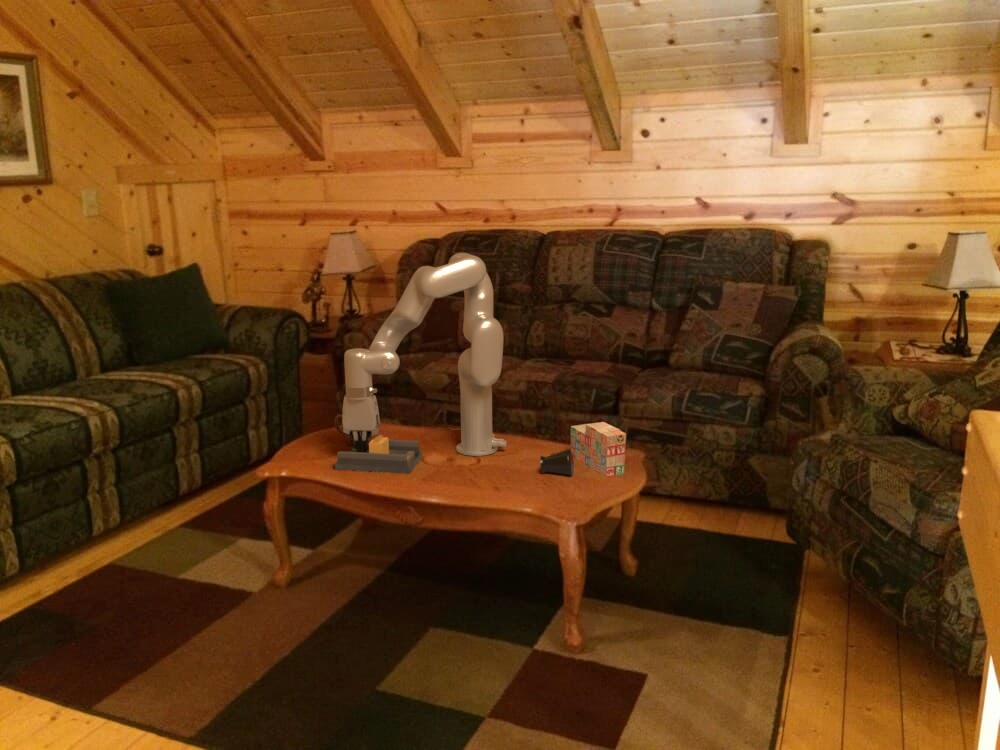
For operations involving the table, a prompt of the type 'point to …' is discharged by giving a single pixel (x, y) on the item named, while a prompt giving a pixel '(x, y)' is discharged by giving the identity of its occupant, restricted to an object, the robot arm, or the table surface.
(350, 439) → the mug
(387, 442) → the cheese wedge
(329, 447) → the table surface
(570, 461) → the black tapered piece
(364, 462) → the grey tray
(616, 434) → the stack of blocks
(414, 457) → the panel
